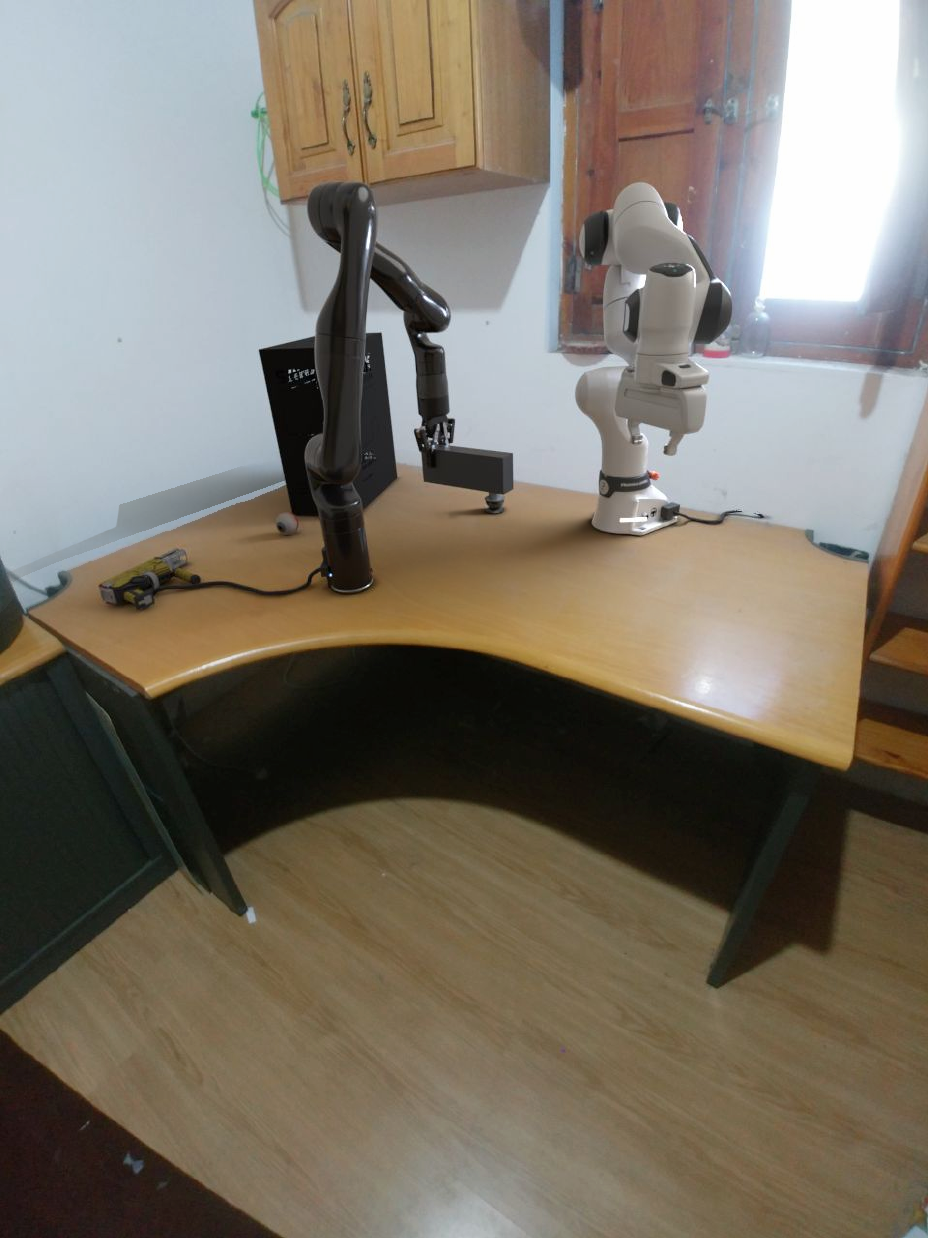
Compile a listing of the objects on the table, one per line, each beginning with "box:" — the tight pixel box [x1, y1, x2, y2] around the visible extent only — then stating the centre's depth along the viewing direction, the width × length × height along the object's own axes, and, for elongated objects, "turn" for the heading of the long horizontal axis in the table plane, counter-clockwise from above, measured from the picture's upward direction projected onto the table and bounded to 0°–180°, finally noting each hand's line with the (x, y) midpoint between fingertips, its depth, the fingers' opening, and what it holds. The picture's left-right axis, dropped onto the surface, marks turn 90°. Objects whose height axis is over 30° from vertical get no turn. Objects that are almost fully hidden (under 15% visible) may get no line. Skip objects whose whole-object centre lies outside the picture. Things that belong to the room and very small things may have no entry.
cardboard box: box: [258, 332, 398, 517], centre depth 181 cm, size 38×20×45 cm, turn 167°
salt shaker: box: [484, 492, 506, 514], centre depth 170 cm, size 6×6×12 cm
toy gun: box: [98, 547, 202, 611], centre depth 139 cm, size 5×24×15 cm
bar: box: [420, 443, 514, 496], centre depth 146 cm, size 24×5×9 cm, turn 55°
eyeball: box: [275, 511, 300, 536], centre depth 163 cm, size 6×6×6 cm
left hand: (437, 464), depth 150 cm, fingers closed on bar, 4 cm apart
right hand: (652, 449), depth 113 cm, fingers open, 8 cm apart
